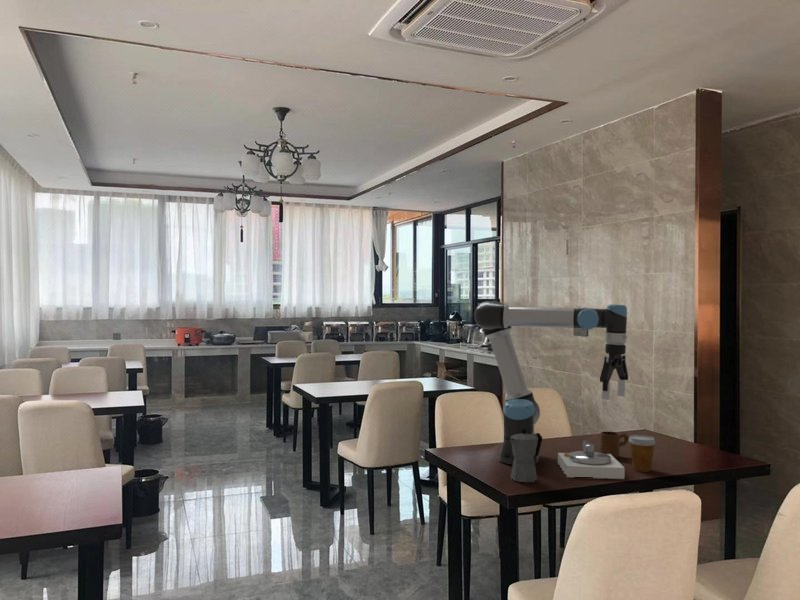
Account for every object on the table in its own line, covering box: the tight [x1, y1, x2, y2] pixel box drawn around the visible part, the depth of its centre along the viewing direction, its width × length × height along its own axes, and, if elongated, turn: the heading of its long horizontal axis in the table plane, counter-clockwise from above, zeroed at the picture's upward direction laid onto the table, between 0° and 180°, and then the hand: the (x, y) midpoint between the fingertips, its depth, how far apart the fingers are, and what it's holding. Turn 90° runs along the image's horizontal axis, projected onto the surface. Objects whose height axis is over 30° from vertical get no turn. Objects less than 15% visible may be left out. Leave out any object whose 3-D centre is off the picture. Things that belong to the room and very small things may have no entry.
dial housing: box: [557, 452, 626, 480], centre depth 238 cm, size 20×20×5 cm
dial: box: [568, 439, 611, 465], centre depth 239 cm, size 16×15×5 cm
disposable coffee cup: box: [628, 434, 657, 473], centre depth 241 cm, size 10×10×12 cm
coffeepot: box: [509, 428, 543, 483], centre depth 226 cm, size 15×9×18 cm, turn 125°
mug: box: [599, 431, 629, 459], centre depth 261 cm, size 12×8×9 cm, turn 103°
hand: (613, 397), depth 252 cm, fingers open, 13 cm apart
